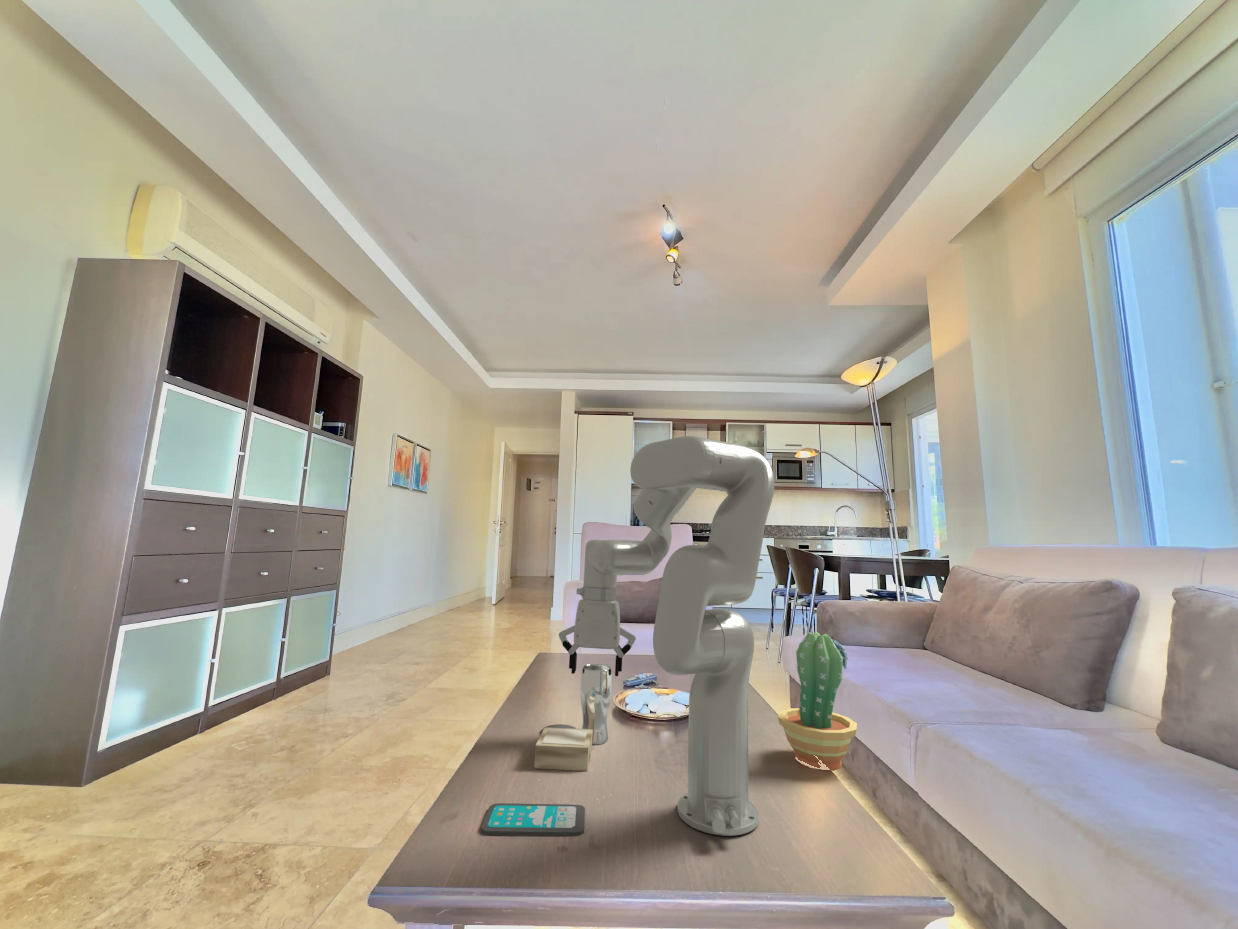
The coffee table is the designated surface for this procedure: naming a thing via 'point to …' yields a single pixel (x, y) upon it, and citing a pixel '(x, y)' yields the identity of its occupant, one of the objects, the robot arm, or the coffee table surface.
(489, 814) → the smartphone
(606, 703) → the beer glass
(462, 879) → the coffee table surface
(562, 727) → the rubber coaster
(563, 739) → the oak plinth
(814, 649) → the potted cactus
